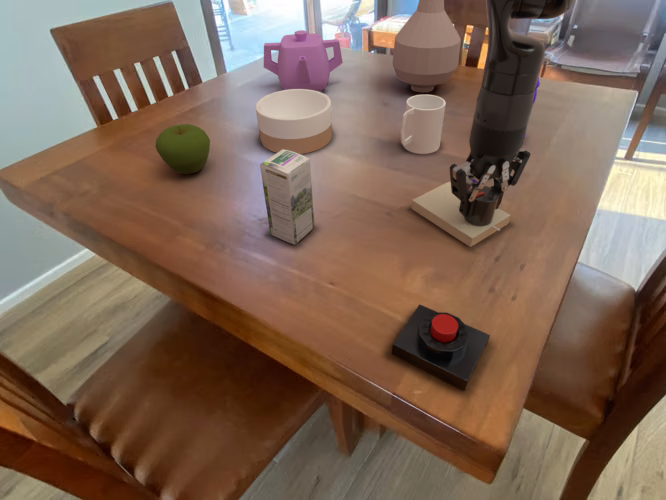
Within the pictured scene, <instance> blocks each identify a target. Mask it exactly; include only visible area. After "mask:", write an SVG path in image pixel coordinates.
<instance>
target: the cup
mask: <svg viewBox="0 0 666 500" xmlns="http://www.w3.org/2000/svg"><path fill="white" fill-rule="evenodd" d="M446 104H447V103H446V100H445V99H444V98H443V97H440V96H439V95H435V94H424V93H422V94H416V95H413V96H409V97H408V98H407V99H406V104H405V112H404V113H403V115H402V119H401V123H400V129H399V130H400V144H401V145H402V146H403V148H404V149H405V150H406V151H408V152H410V153H413V154H418V155H426V154H427V155H429V154H433V153H435V152H437V151H438V150H439V149H440V146H441V141H442V140H441V139H442V132H443V125H444V119H445V110H446V106H447V105H446Z"/></svg>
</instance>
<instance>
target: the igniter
mask: <svg viewBox="0 0 666 500" xmlns="http://www.w3.org/2000/svg"><path fill="white" fill-rule="evenodd" d="M440 314H446V315H450V316H452V317H453V318H454V319H455V320H456V321H457V323H458V330H457V334H456V337H455V339H454V340H453V341H451V342H448V343H442V342H439V341H437V340H435V339H434V338H433V337H432V335H431V332H430V329H431V324H432V320H433V318H434V317H435V316H437V315H440ZM490 337H491V335H490V334H489V333H487V332H483V331H482V330H479V329H478V328H475V327H473V326H470V325H468V324H466V323H464V321H463V320H462V319H461V318H460V317H459V316H456V315H454V314H452V313H449V312H445V311H443V312H441V311H437V310H433V309H431V308H430V307H426V306H424V305H422V304H418V306H417V307H416V308H415V310H414V311H413V313H412V314H411V316H410V317H409V319H408V320H407V322H406V323H405V325H404V326H403V327H402V329H401V331H400V332H399V334H398V336H397V337H396V338H395V339H394V341H393V342H392V346H391V347H392V349H391V355H392V356H395V357H397V358H399V359H401V360H402V361H405V362H407V363H408V364H411V365H413V366H414V367H416V368H419V369H421V370H422V371H425V372H427V373H428V374H431V375H432V376H434V377H436V378H438V379H440V380H442V381H444V382H445V383H448V384H450V385H452V386H454V387H456V388H458V389H460V390H462V391H466V389H467V387H468V385H469V383H470V381H471V379H472V377H473V375H474V372H475V371H476V369H477V367H478V364H479V362H480V360H481V358H482V356H483V354H484V352H485V350H486V348H487V346H488V343H489V340H490Z"/></svg>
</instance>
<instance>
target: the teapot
mask: <svg viewBox="0 0 666 500" xmlns="http://www.w3.org/2000/svg"><path fill="white" fill-rule="evenodd" d="M328 48H332V49H333V50H332V51H333V57H331V58H330V59H329V57H328V52H327V50H326V49H328ZM341 50H342V49H341V44H340V40H339V38H335V39H334V38H333V39H323V38H322V36H321V35H320V34H319V33H316V32H315V33H311V32H310V33H308V31H307V30H301V29H300V30H295V31H294V33H293V34H285V35H283V36H282V38H281V40H280V42H265V43H264V44H263V68H264V69H266V70H267V71H269V72H271V73H273V74H275V75H276V76H277V78H278V81H279V84H280V86H281V88H282V90H289V89H308V90H314V91H318V92H321V93H323V92H324V89H326V87H328V86H327V85H328V83H329V81H330V75H331V72H333V71H334V70H336V69H337V68H338V67H339V66H341V65H342V64H343V63H344V61H343V57H342V55H343V54H342V51H341ZM272 51H274V52H275V51H277V52H278V53H277V61H274V60H273V59H272Z"/></svg>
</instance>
